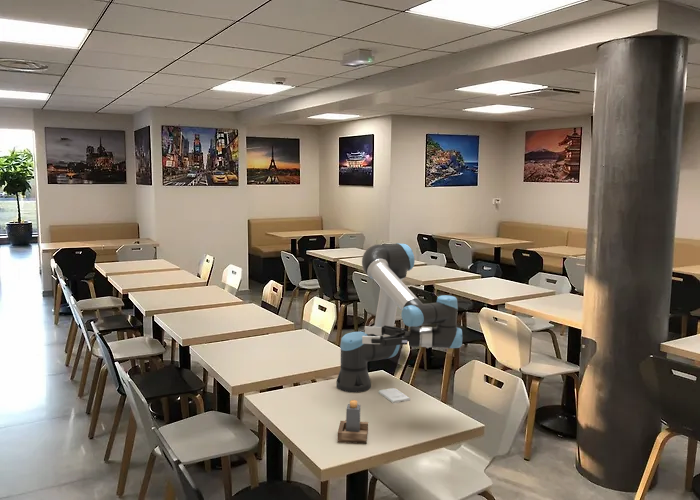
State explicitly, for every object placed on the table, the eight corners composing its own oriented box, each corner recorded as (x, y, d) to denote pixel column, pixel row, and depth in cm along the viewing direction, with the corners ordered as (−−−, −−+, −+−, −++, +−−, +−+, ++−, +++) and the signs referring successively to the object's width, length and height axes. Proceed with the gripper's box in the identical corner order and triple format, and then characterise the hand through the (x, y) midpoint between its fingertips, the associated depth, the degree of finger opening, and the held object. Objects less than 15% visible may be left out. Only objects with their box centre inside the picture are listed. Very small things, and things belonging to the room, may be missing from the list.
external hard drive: (395, 391, 246) (410, 401, 235) (378, 394, 242) (393, 404, 231) (395, 387, 245) (410, 397, 234) (378, 390, 242) (393, 400, 231)
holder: (368, 431, 205) (368, 422, 205) (366, 443, 195) (366, 434, 195) (340, 429, 206) (340, 420, 205) (337, 442, 196) (337, 432, 196)
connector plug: (360, 431, 202) (360, 399, 201) (358, 437, 198) (359, 404, 196) (347, 430, 203) (347, 398, 201) (346, 436, 198) (346, 403, 197)
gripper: (420, 356, 201) (361, 354, 203) (418, 337, 225) (365, 335, 227) (421, 336, 200) (361, 333, 202) (419, 319, 225) (365, 317, 226)
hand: (363, 334), depth 215 cm, fingers open, 13 cm apart
